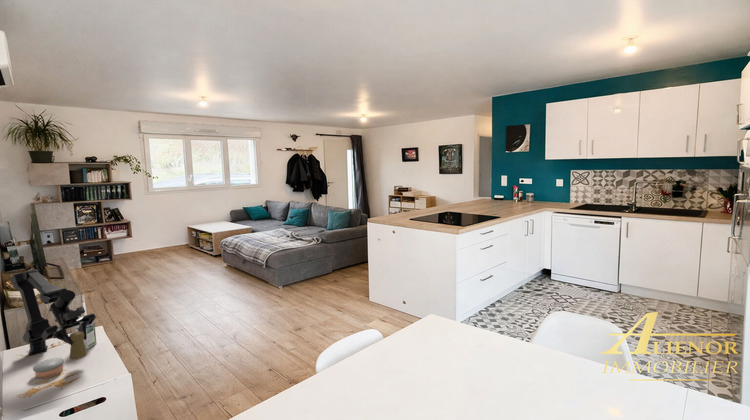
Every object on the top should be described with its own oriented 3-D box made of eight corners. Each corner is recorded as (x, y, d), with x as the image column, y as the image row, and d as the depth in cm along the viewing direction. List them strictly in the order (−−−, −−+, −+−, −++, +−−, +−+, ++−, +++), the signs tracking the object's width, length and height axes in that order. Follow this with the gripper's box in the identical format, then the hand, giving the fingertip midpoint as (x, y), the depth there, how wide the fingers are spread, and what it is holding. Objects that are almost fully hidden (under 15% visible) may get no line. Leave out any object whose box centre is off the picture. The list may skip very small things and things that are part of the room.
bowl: (36, 372, 158) (35, 364, 158) (63, 365, 164) (62, 357, 164) (34, 381, 151) (33, 373, 151) (63, 374, 157) (62, 366, 157)
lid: (34, 364, 158) (33, 362, 158) (64, 357, 164) (64, 355, 164) (32, 374, 150) (31, 372, 150) (63, 366, 157) (63, 364, 156)
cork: (90, 354, 164) (88, 330, 162) (75, 360, 158) (73, 336, 157) (81, 351, 166) (79, 328, 164) (66, 358, 160) (64, 334, 159)
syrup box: (87, 349, 178) (85, 320, 177) (75, 348, 178) (73, 320, 177) (96, 343, 184) (94, 316, 182) (85, 343, 184) (82, 315, 182)
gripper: (42, 310, 152) (60, 341, 149) (92, 296, 169) (108, 323, 166) (34, 324, 156) (50, 355, 153) (83, 309, 173) (99, 336, 170)
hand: (79, 341), depth 160 cm, fingers closed on cork, 5 cm apart
